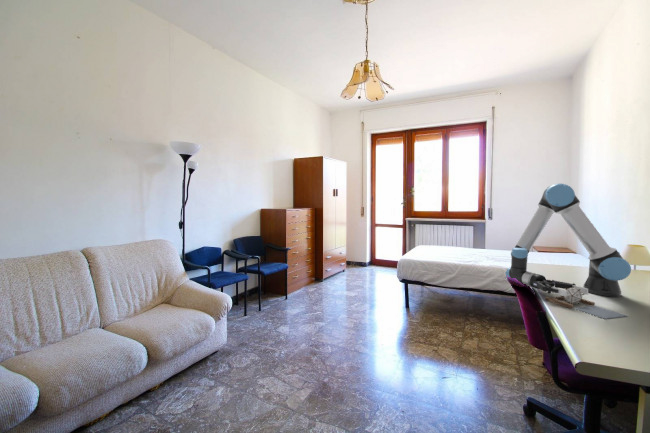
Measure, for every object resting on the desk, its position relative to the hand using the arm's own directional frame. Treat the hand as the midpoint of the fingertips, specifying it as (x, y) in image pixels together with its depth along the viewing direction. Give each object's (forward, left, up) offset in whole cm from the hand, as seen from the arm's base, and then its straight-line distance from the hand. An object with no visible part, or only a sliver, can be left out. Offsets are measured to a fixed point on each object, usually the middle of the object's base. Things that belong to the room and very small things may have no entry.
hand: (577, 292), depth 141 cm
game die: (0, -2, -6) cm, 7 cm away
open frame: (0, -3, -6) cm, 7 cm away
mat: (0, +9, -6) cm, 11 cm away
